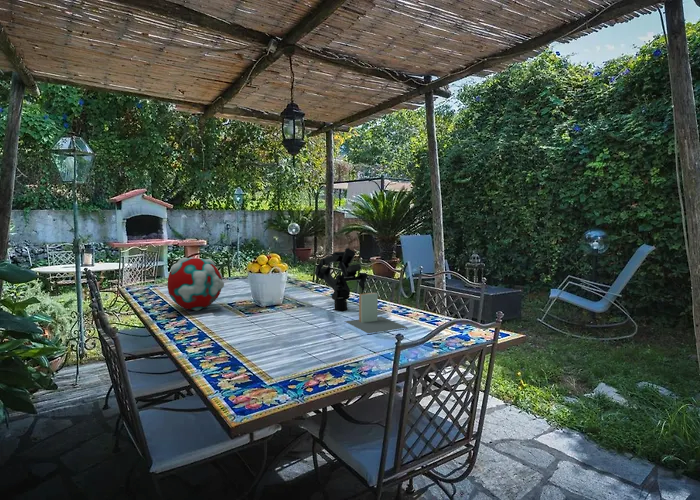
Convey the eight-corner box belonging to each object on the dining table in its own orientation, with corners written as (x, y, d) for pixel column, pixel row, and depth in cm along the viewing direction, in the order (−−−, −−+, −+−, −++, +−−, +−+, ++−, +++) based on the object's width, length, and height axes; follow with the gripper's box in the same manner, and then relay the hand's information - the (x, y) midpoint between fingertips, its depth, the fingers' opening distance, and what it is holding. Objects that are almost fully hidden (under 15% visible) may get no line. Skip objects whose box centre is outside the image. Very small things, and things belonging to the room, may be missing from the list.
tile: (359, 321, 209) (359, 293, 207) (374, 319, 213) (374, 292, 212) (361, 322, 206) (362, 295, 205) (377, 320, 210) (377, 293, 209)
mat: (344, 322, 209) (344, 321, 209) (381, 318, 219) (381, 316, 219) (368, 335, 188) (368, 333, 187) (408, 329, 198) (408, 327, 198)
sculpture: (167, 306, 246) (165, 256, 244) (220, 301, 259) (219, 254, 257) (169, 318, 218) (167, 261, 215) (228, 312, 230) (227, 258, 228)
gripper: (335, 260, 220) (346, 282, 211) (365, 258, 230) (377, 279, 220) (329, 274, 227) (339, 296, 218) (358, 271, 237) (369, 292, 227)
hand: (357, 290), depth 221 cm, fingers open, 9 cm apart
